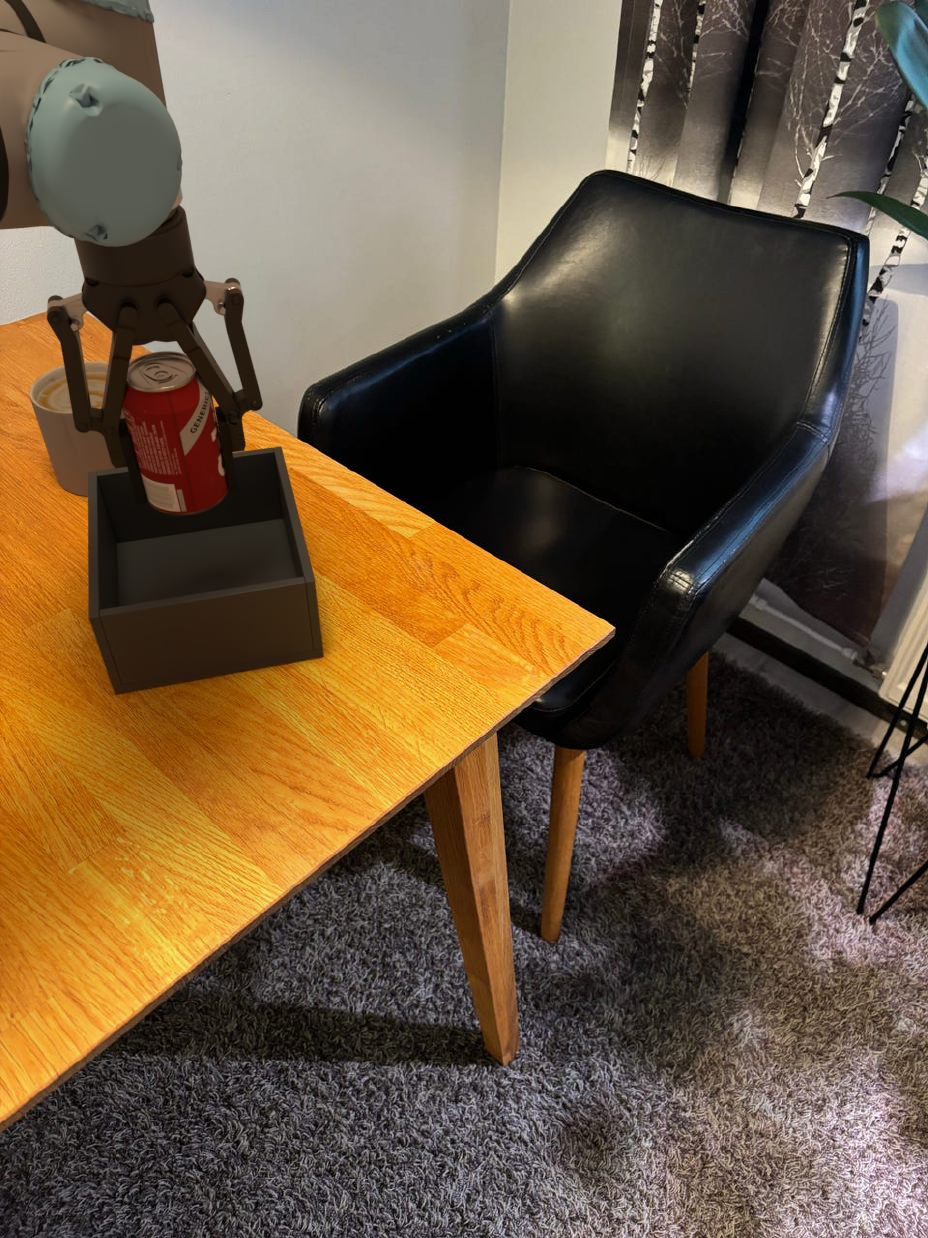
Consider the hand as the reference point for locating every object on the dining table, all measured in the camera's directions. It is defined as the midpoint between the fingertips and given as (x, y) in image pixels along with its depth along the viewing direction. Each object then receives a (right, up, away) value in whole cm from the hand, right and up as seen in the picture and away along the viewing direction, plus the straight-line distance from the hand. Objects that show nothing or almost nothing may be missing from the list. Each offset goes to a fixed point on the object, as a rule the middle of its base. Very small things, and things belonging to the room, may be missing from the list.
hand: (187, 487), depth 81 cm
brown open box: (0, -9, +9) cm, 13 cm away
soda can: (0, -1, +1) cm, 1 cm away
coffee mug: (-16, +6, +24) cm, 30 cm away
